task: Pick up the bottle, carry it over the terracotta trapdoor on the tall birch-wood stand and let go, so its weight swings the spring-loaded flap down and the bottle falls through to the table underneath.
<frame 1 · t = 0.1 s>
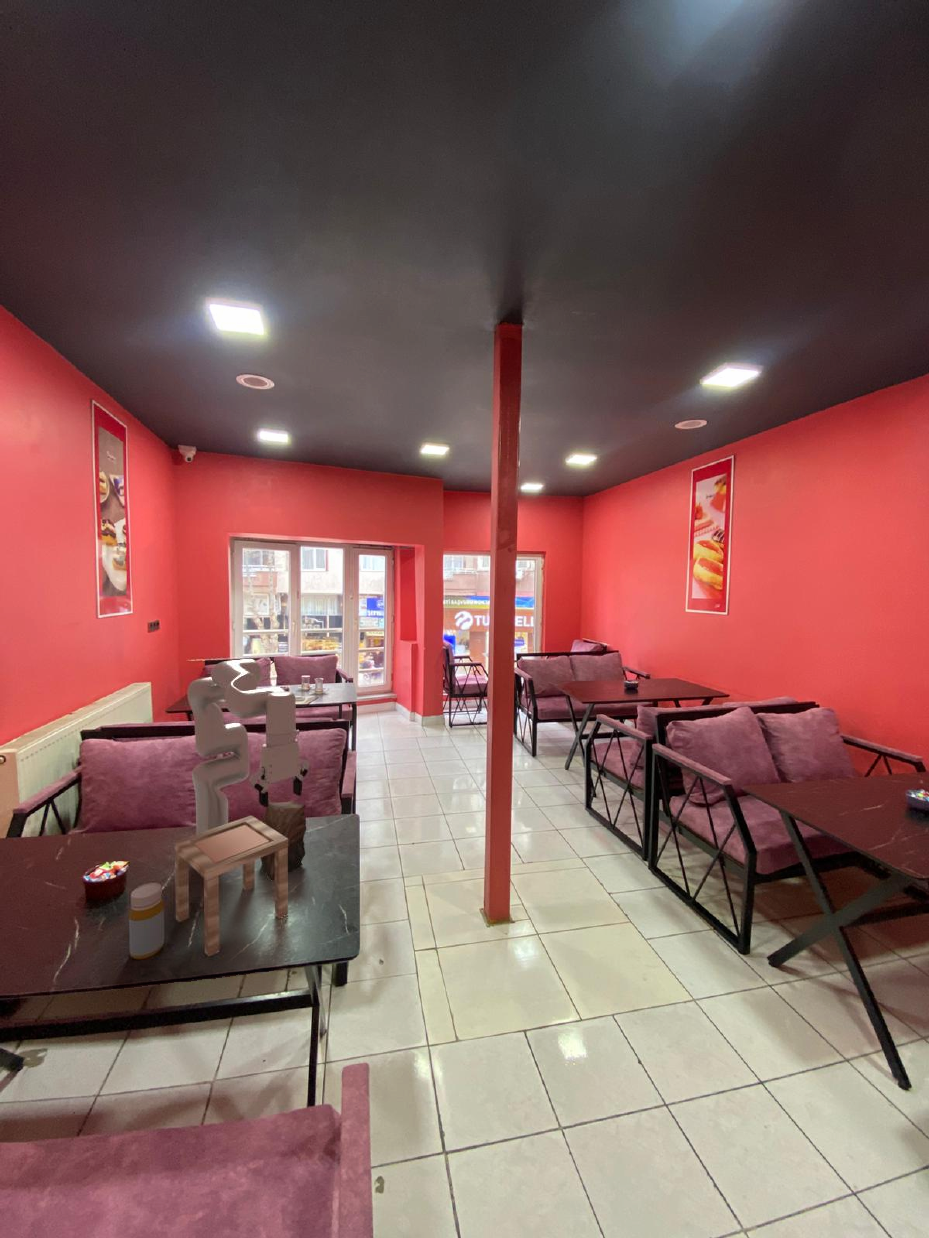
hand: (281, 799, 130), 31 cm above the table, tool pointing down, fingers open, 9 cm apart
tree stump: (278, 869, 152), on the table
trapdoor: (231, 843, 128), point 20 cm above the table, hinge at 0.0°
trapdoor frame: (232, 916, 129), on the table
bottle: (147, 950, 116), on the table
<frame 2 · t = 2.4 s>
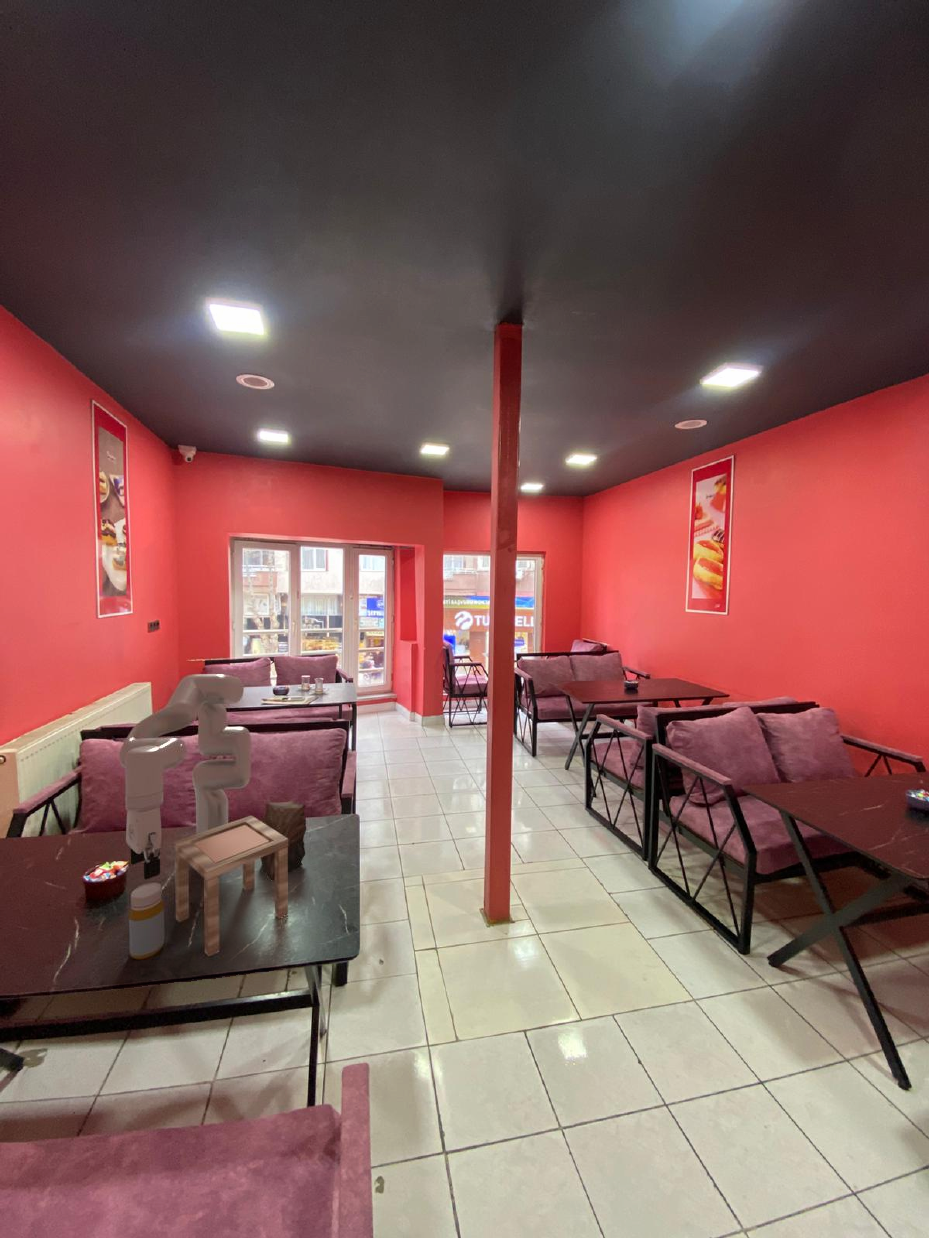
hand: (145, 869, 115), 20 cm above the table, tool pointing down, fingers open, 9 cm apart
nothing on the table moved.
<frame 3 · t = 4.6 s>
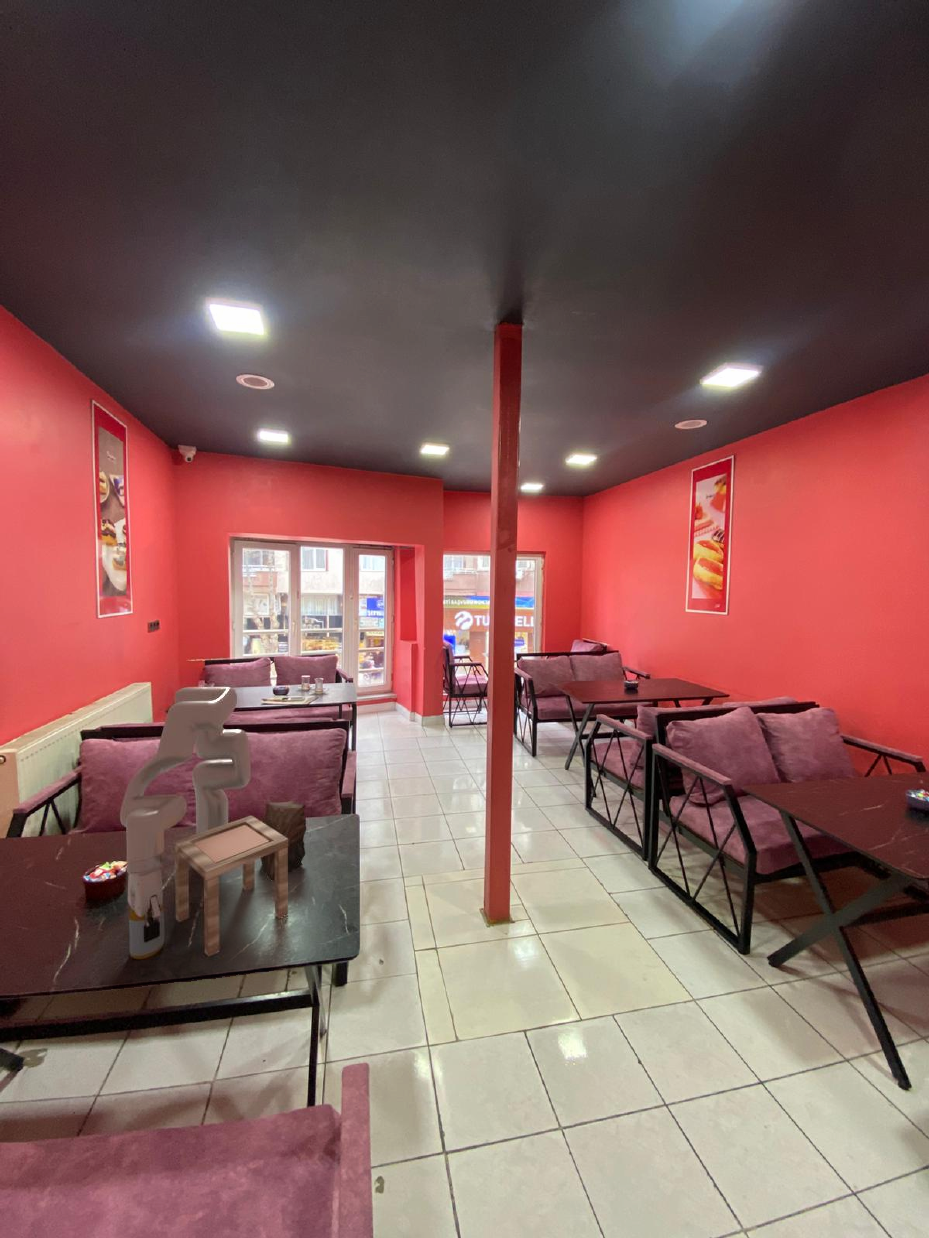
hand: (147, 931, 116), 5 cm above the table, tool pointing down, fingers closed on bottle, 6 cm apart
bottle: (147, 950, 116), on the table, touching gripper
everything else where it was.
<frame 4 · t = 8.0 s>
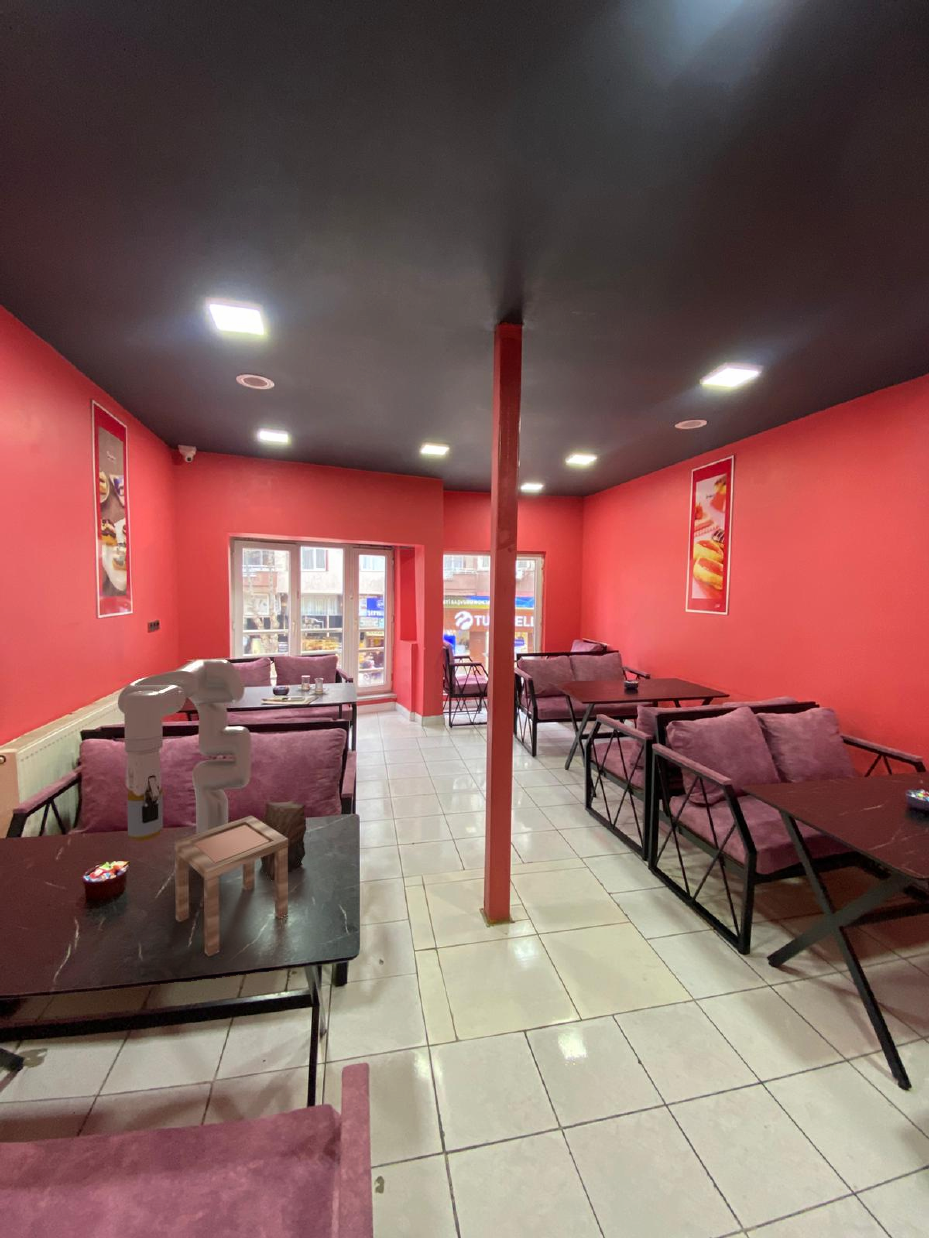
hand: (145, 815, 115), 33 cm above the table, tool pointing down, fingers closed on bottle, 6 cm apart
bottle: (145, 835, 115), point 29 cm above the table, touching gripper
everything else where it was.
when the fingers open (28 cm above the table, at t = 11.2 s): bottle drops 5 cm, resting on trapdoor.
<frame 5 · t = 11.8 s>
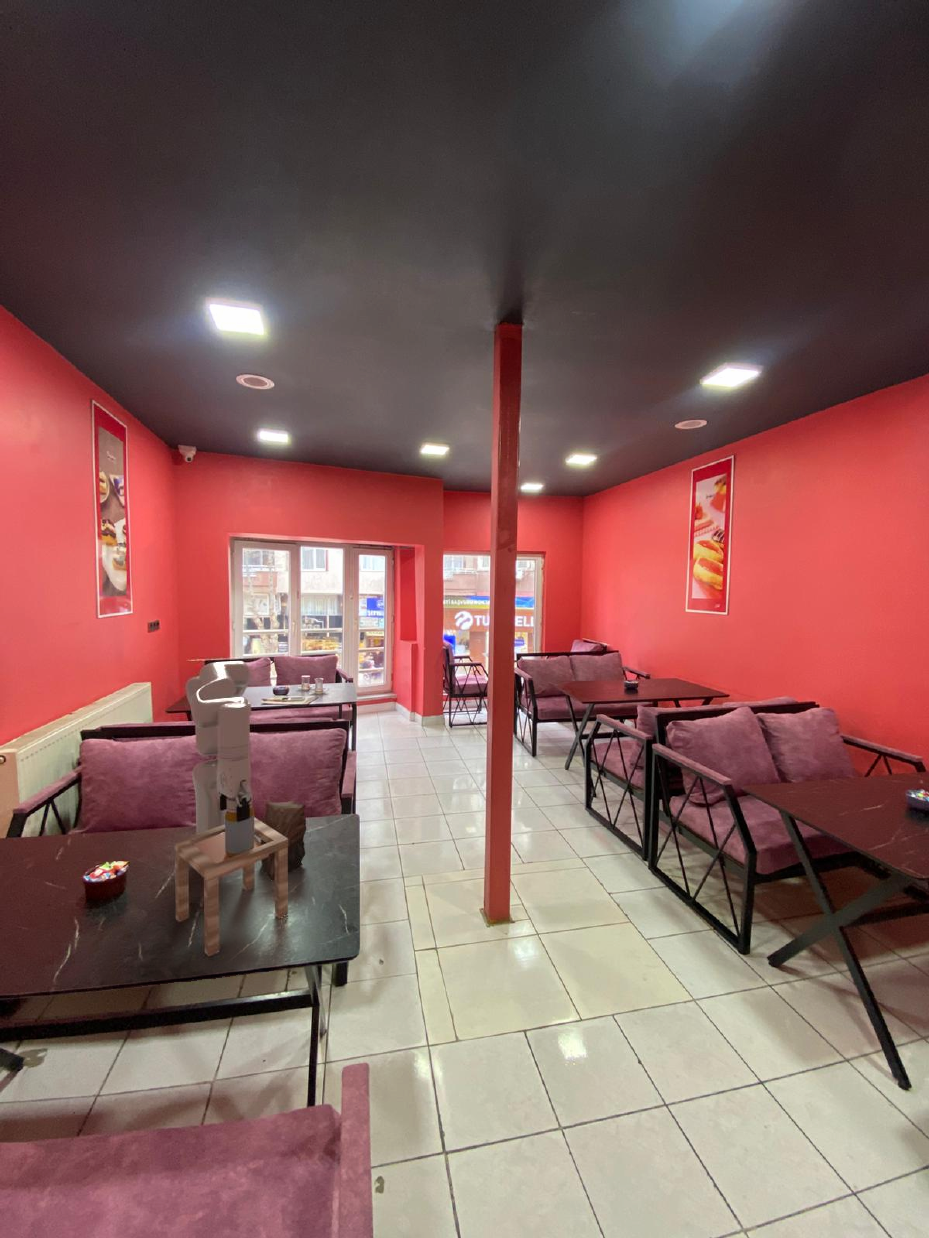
hand: (234, 814, 126), 29 cm above the table, tool pointing down, fingers open, 9 cm apart
trapdoor: (230, 849, 128), point 18 cm above the table, hinge at -14.8°, touching bottle
bottle: (240, 851, 127), point 19 cm above the table, touching gripper, trapdoor
everything else where it was.
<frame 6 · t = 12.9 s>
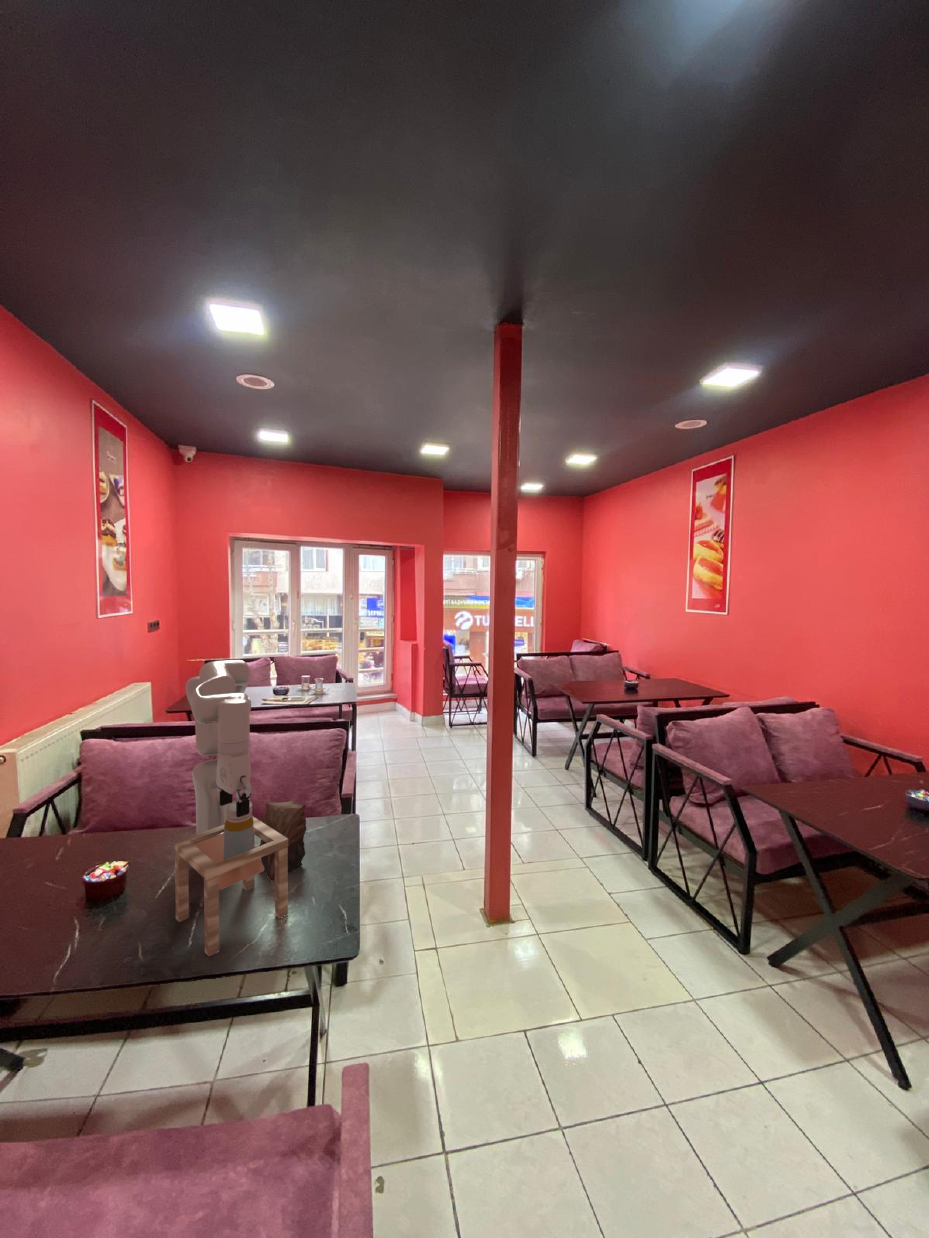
hand: (234, 809, 127), 30 cm above the table, tool pointing down, fingers open, 9 cm apart
trapdoor: (228, 856, 129), point 16 cm above the table, hinge at -38.1°, touching bottle
bottle: (238, 859, 128), point 16 cm above the table, touching gripper, trapdoor
everything else where it was.
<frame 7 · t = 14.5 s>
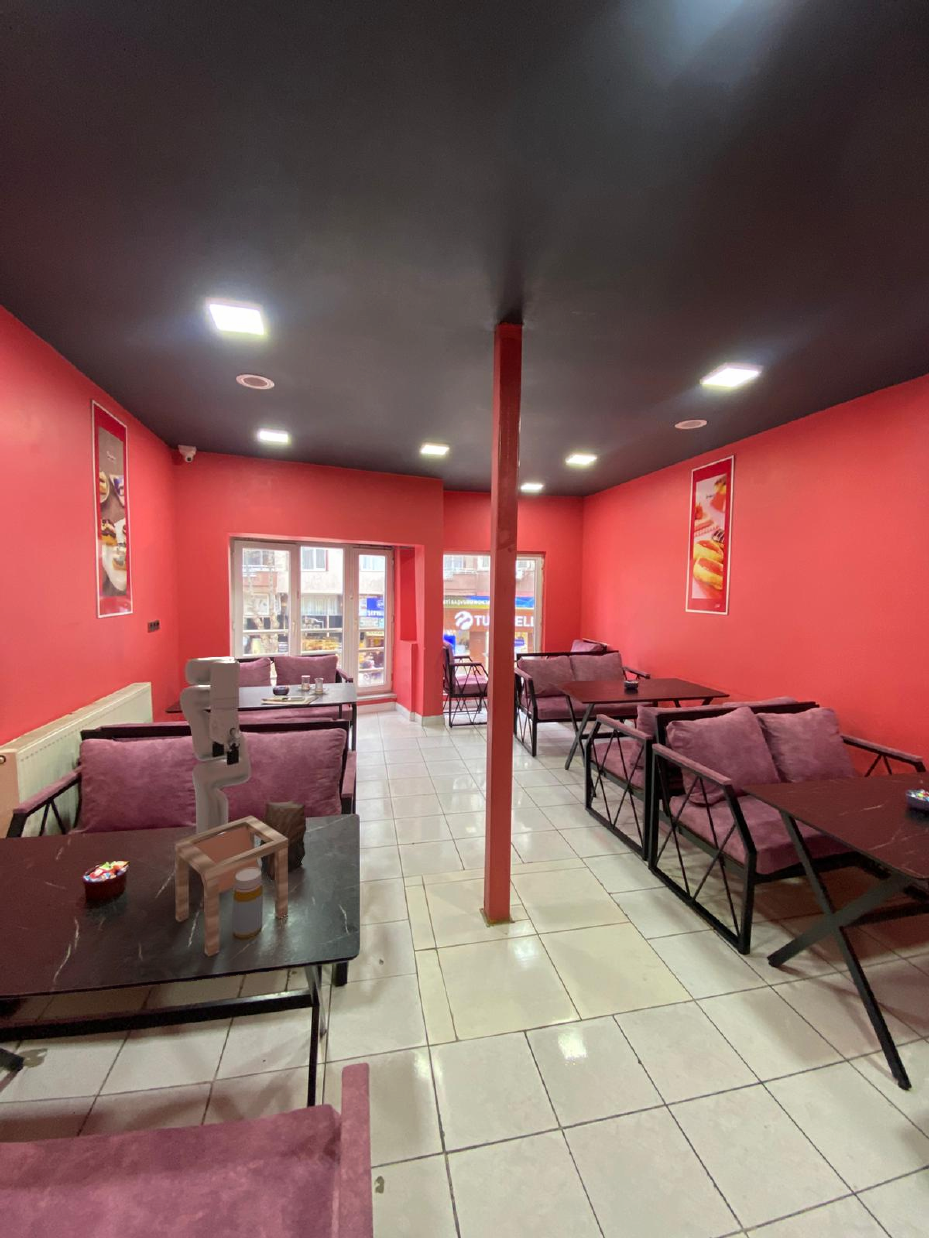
hand: (225, 759, 141), 38 cm above the table, tool pointing down, fingers open, 9 cm apart
trapdoor: (227, 858, 130), point 15 cm above the table, hinge at -48.5°
bottle: (247, 930, 124), on the table
everything else where it was.
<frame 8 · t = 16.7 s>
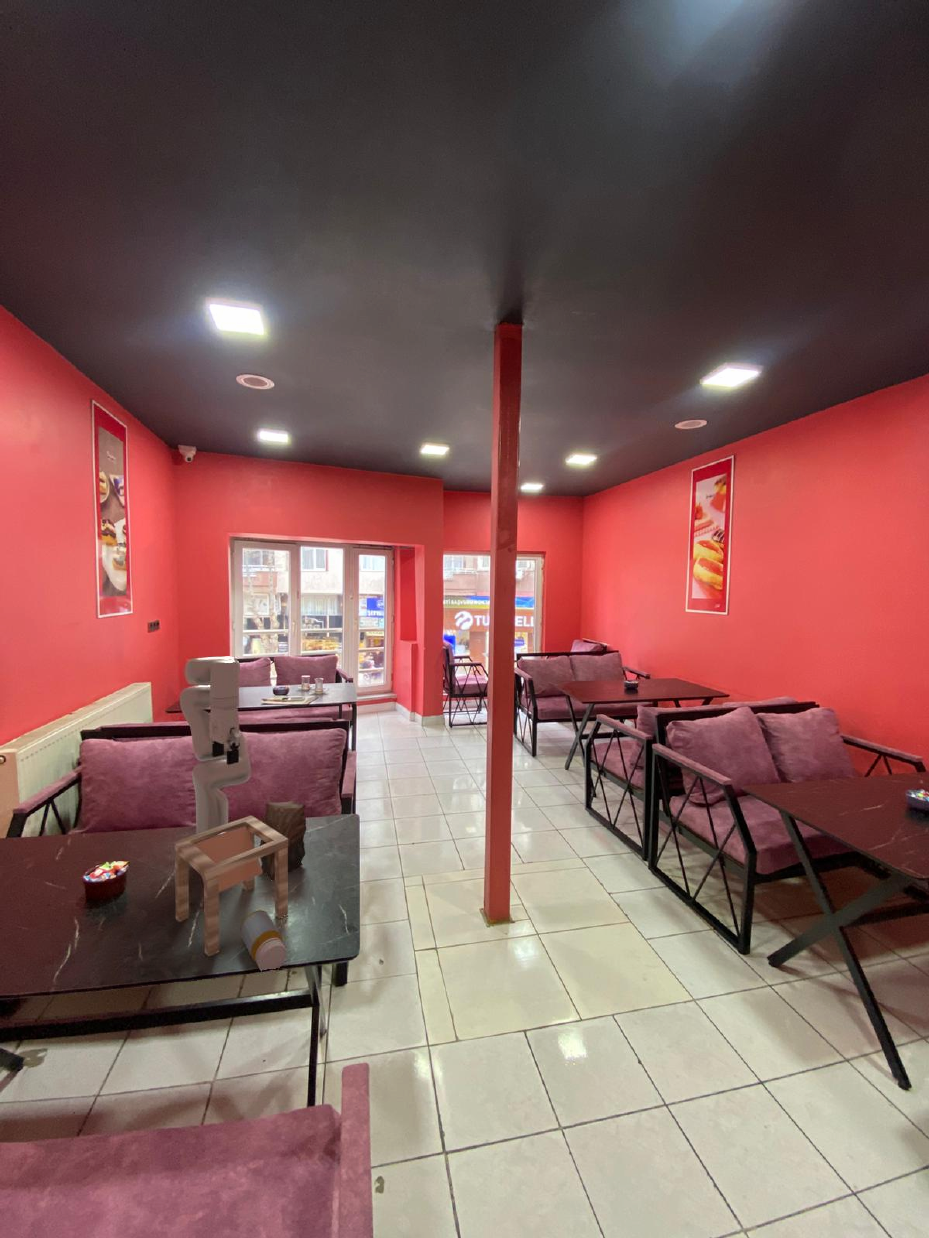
hand: (225, 759, 141), 38 cm above the table, tool pointing down, fingers open, 9 cm apart
trapdoor: (227, 858, 130), point 15 cm above the table, hinge at -44.9°
bottle: (254, 922, 121), point 4 cm above the table
everything else where it was.
at the end: bottle point 3.5 cm above the table; bottle 11.9 cm from the trapdoor frame (horizontally); the gripper is holding nothing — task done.
